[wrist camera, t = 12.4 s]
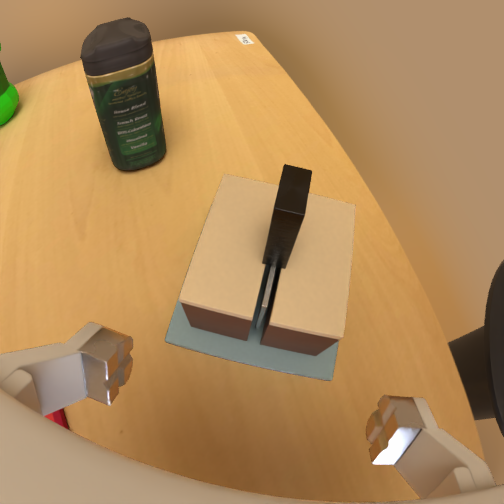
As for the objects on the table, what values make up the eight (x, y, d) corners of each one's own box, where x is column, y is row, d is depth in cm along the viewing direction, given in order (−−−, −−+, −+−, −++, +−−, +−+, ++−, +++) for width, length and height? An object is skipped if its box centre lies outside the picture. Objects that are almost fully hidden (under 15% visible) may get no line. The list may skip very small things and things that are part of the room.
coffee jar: (173, 162, 39) (155, 31, 23) (115, 180, 38) (73, 54, 21) (159, 120, 43) (144, 7, 27) (109, 135, 42) (79, 25, 25)
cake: (212, 207, 36) (209, 154, 29) (348, 239, 36) (376, 193, 28) (165, 342, 29) (143, 316, 21) (329, 381, 28) (365, 368, 20)
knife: (270, 231, 32) (291, 132, 21) (287, 235, 32) (317, 138, 21) (247, 325, 28) (261, 258, 16) (267, 330, 28) (296, 266, 16)
